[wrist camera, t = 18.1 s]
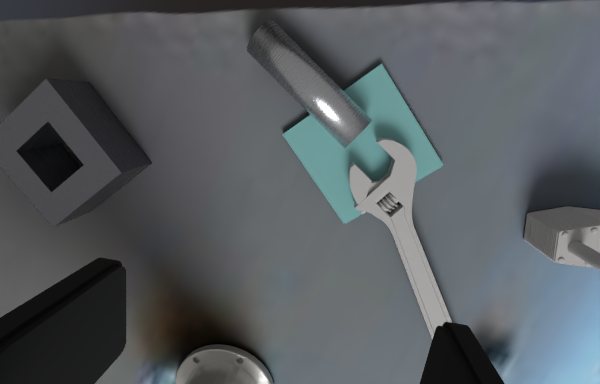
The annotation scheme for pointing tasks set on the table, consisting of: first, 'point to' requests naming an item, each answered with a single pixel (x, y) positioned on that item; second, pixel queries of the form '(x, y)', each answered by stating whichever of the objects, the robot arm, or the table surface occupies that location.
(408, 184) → the adjustable wrench
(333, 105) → the metal cylinder
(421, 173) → the mat
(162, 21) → the table surface
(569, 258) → the padlock
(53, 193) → the block
